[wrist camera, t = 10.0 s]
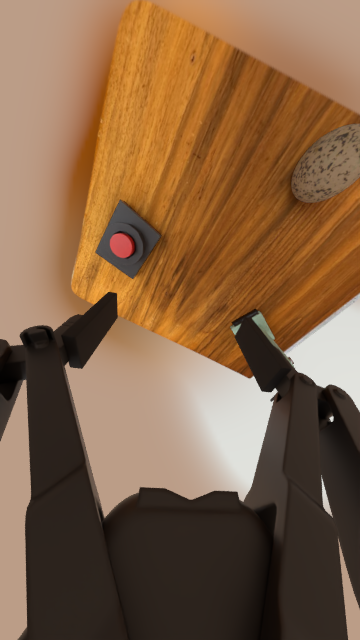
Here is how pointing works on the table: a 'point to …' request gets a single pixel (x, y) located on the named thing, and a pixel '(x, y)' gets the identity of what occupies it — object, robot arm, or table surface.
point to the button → (122, 245)
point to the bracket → (265, 329)
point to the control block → (137, 230)
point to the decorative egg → (328, 165)
